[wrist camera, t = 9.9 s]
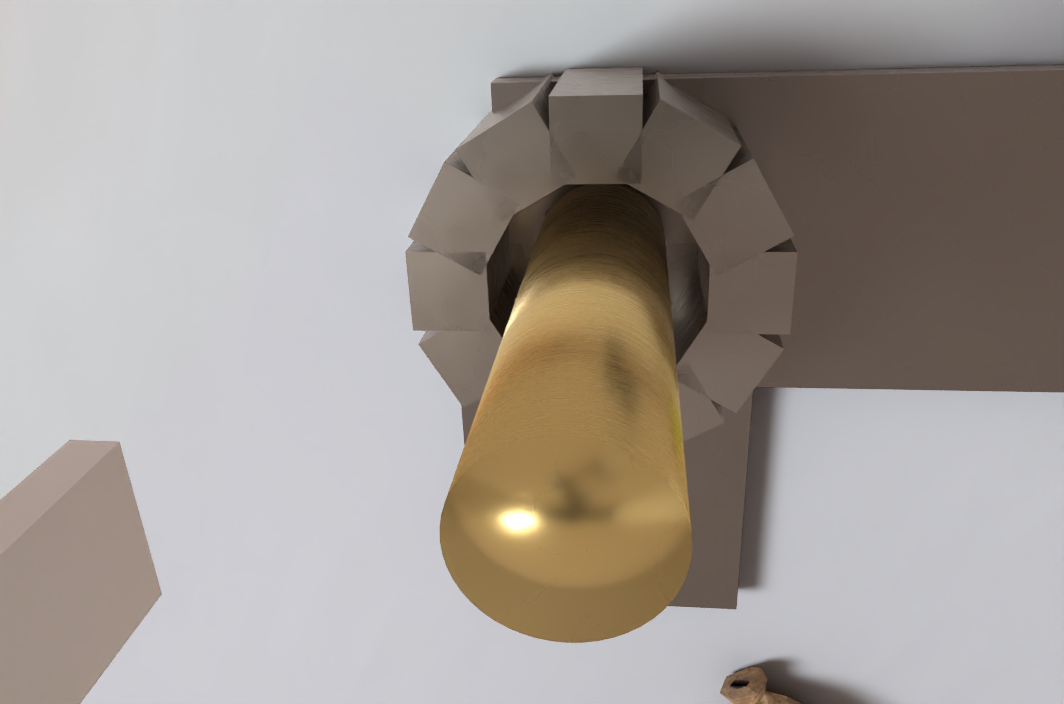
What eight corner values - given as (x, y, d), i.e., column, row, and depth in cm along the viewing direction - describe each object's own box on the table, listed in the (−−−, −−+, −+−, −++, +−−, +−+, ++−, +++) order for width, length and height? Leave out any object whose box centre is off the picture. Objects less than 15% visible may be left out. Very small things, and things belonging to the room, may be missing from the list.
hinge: (436, 72, 25) (390, 99, 20) (1238, 52, 22) (1390, 79, 18) (475, 578, 32) (448, 682, 27) (1082, 605, 30) (1161, 723, 25)
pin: (536, 183, 25) (428, 432, 12) (666, 181, 24) (696, 437, 12) (541, 303, 26) (449, 637, 13) (663, 303, 26) (688, 648, 13)
